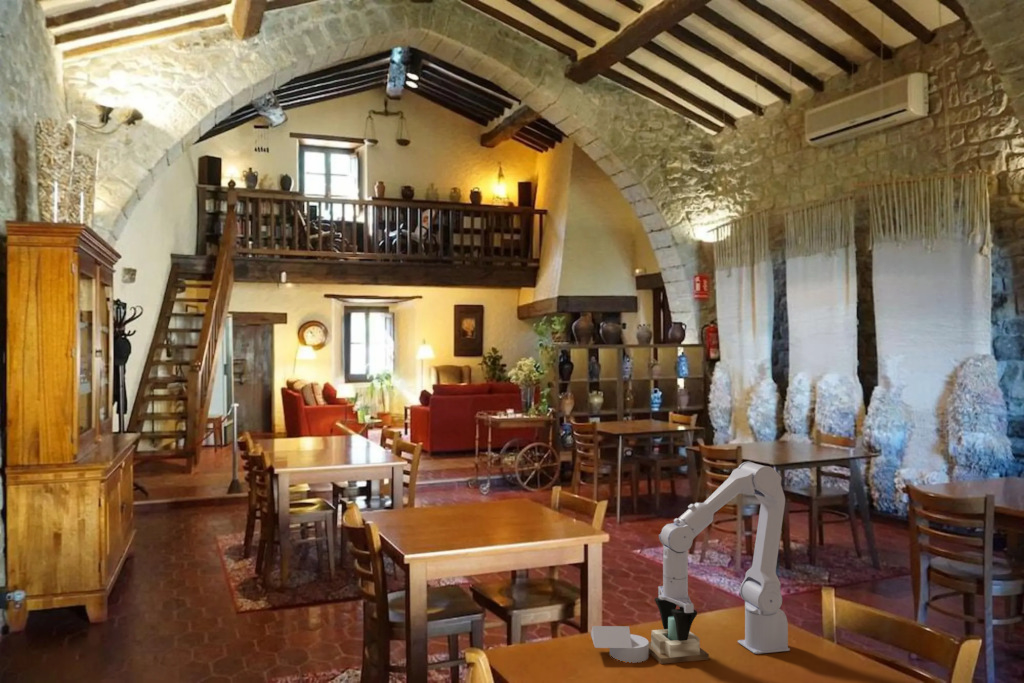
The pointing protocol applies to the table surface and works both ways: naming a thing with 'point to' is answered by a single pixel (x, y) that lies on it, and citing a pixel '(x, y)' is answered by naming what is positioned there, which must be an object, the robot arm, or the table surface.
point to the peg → (672, 629)
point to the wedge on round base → (621, 643)
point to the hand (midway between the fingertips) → (675, 634)
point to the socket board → (675, 648)
